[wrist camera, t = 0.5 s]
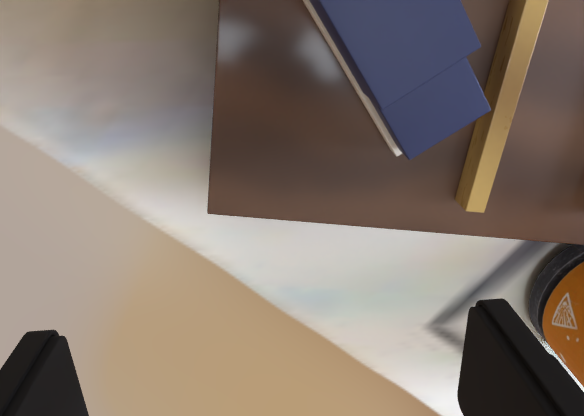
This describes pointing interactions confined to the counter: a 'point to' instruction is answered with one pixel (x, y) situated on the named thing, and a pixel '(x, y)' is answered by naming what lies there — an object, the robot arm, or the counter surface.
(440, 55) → the blue box
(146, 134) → the counter surface
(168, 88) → the counter surface
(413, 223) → the brown rectangular slab
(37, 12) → the counter surface
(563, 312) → the canister
